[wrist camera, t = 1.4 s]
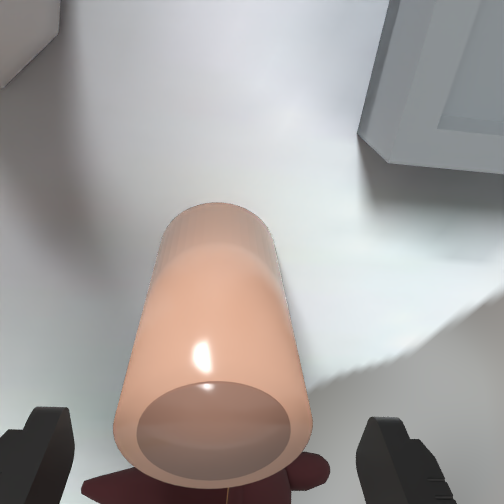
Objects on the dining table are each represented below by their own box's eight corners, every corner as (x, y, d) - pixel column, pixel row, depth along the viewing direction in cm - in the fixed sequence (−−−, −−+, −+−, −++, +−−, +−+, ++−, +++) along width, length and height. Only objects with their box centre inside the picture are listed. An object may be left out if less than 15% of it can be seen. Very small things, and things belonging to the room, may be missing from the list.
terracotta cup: (159, 197, 17) (105, 362, 9) (283, 207, 17) (332, 370, 10) (159, 298, 19) (117, 491, 12) (266, 303, 20) (295, 492, 12)
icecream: (54, 585, 20) (312, 582, 25) (71, 565, 16) (386, 566, 20) (86, 441, 25) (298, 461, 30) (107, 391, 20) (356, 425, 25)
